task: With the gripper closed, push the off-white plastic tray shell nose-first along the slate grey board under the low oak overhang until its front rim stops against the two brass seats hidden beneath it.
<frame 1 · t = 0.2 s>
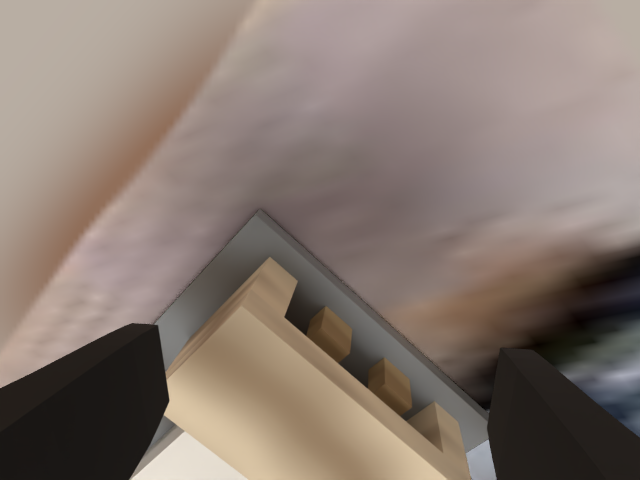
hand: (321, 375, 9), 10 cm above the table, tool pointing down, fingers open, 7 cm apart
overhang board: (272, 413, 23), on the table
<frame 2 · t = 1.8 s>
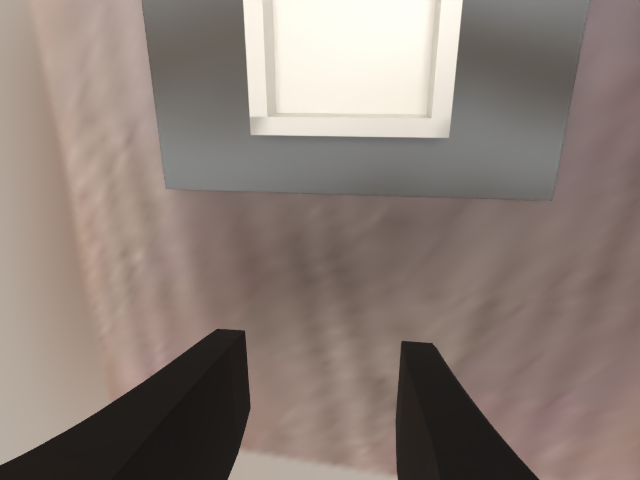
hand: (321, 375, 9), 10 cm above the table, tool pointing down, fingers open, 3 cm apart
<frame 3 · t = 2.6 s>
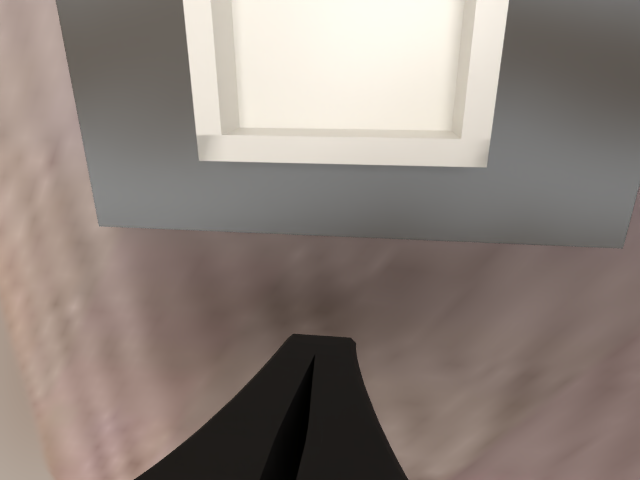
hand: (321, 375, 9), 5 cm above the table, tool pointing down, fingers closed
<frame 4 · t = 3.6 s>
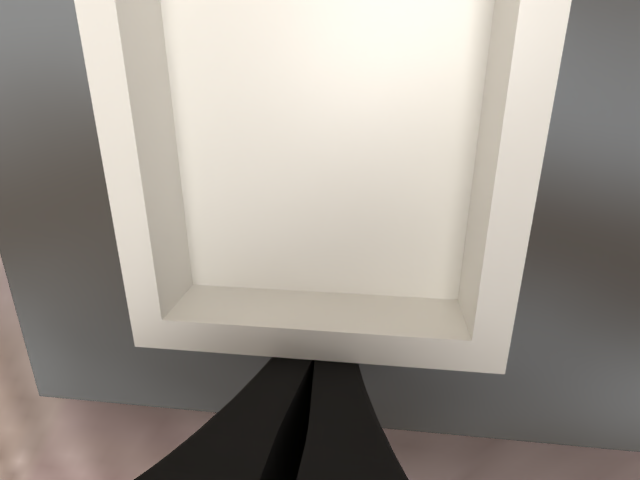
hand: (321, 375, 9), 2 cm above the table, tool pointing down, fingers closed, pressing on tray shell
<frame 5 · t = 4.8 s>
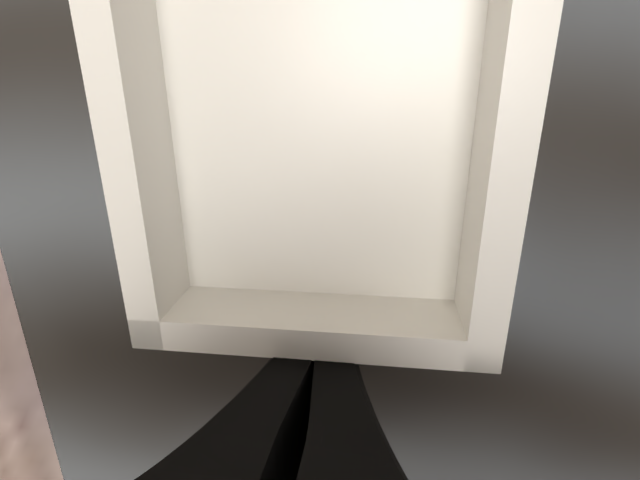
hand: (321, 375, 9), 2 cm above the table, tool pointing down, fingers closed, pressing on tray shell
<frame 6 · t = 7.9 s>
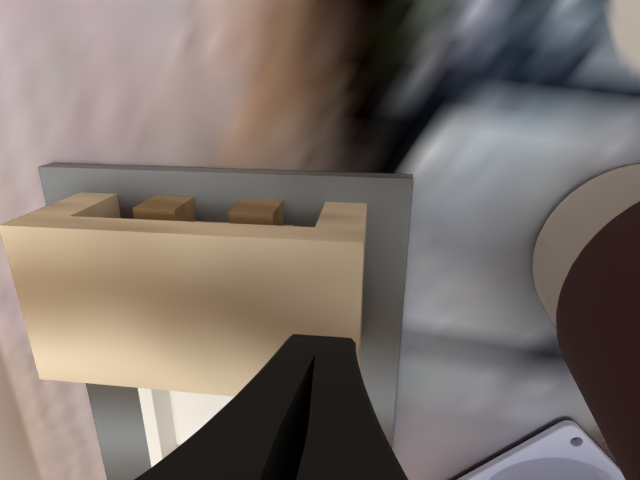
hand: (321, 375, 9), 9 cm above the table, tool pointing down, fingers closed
coffee cup: (624, 251, 17), on the table
overhang board: (235, 338, 21), on the table
tray shell: (225, 347, 20), point 1 cm above the table, touching overhang board
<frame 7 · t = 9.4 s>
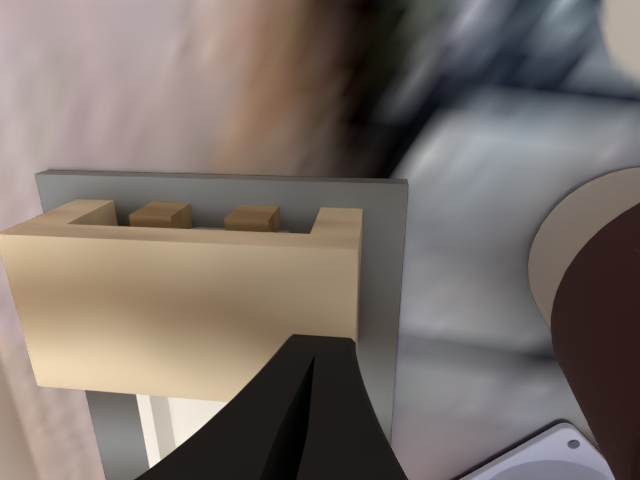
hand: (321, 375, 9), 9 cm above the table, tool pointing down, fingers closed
coffee cup: (620, 254, 17), on the table
overhang board: (233, 342, 21), on the table
tray shell: (222, 352, 20), point 1 cm above the table, touching overhang board
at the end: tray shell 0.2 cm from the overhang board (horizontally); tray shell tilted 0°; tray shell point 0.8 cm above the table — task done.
